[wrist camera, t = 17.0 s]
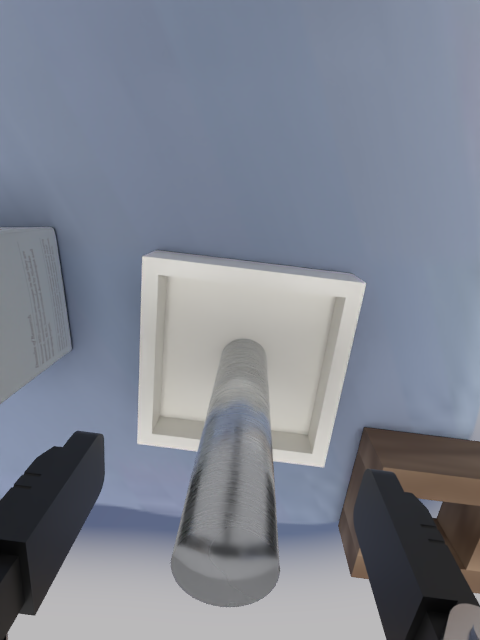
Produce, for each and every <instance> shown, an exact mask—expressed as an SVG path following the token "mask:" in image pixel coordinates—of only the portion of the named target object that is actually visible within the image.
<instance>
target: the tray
mask: <svg viewBox="0 0 480 640" xmlns="http://www.w3.org/2000/svg"><path fill="white" fill-rule="evenodd" d="M365 287H366V283H365V282H364V281H362V280H361V279H360V278H358V277H357V276H355V275H354V274H351V273H343V272H335V271H327V270H318V269H310V268H302V267H294V266H285V265H277V264H269V263H261V262H252V261H244V260H236V259H228V258H219V257H211V256H203V255H195V254H186V253H178V252H170V251H161V250H155V251H153V252H151V253H148V254H146V255H144V256H142V283H141V322H140V360H139V398H138V437H137V444H142V445H150V446H158V447H166V448H174V449H182V450H190V451H198V447H199V443H200V439H201V435H202V431H203V427H204V423H205V419H206V415H207V411H208V407H209V403H210V399H211V394H212V390H213V386H214V382H215V378H216V374H217V370H218V366H219V362H220V358H221V354H222V351H223V349H224V348H225V346H226V345H227V344H229V343H230V342H231V341H233V340H236V339H241V338H245V339H251V340H253V341H255V342H257V343H258V344H260V345H261V346H262V348H263V349H264V351H265V353H266V357H267V371H268V387H269V403H270V420H271V436H272V452H273V461H277V462H284V463H292V464H300V465H308V466H316V467H324V465H325V461H326V457H327V452H328V448H329V444H330V439H331V435H332V431H333V426H334V422H335V417H336V413H337V409H338V404H339V400H340V396H341V391H342V387H343V383H344V378H345V374H346V370H347V365H348V361H349V357H350V352H351V348H352V344H353V339H354V335H355V331H356V326H357V322H358V318H359V313H360V309H361V305H362V300H363V296H364V292H365Z"/></svg>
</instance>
